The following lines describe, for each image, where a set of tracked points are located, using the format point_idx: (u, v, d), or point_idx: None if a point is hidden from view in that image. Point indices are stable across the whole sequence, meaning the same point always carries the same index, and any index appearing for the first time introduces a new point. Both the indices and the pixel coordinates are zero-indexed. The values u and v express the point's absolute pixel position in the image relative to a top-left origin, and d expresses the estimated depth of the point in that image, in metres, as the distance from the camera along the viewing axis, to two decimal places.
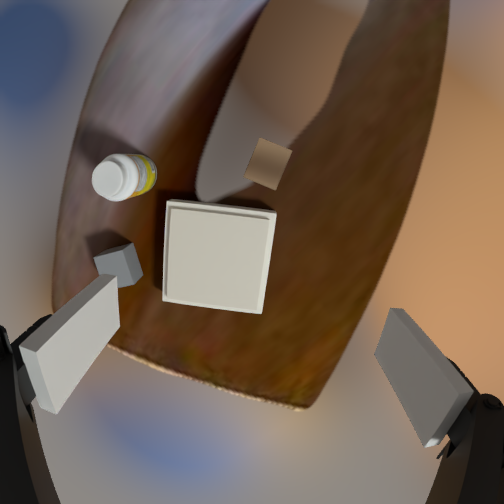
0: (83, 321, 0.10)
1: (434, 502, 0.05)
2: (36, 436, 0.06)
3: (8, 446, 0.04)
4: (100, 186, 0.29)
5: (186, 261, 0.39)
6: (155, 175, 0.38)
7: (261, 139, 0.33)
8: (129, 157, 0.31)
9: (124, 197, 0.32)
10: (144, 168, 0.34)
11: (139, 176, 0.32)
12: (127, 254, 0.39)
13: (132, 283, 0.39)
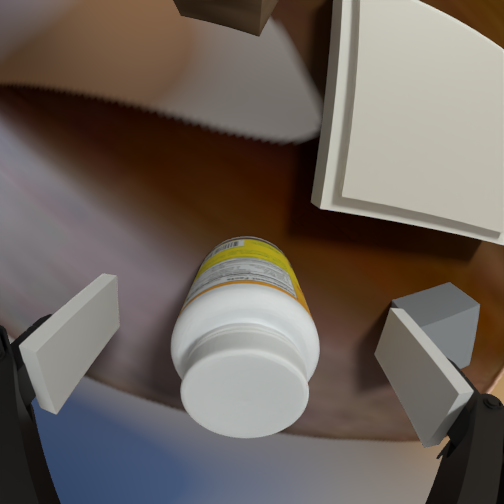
0: (83, 321, 0.10)
1: (434, 502, 0.05)
2: (36, 436, 0.06)
3: (8, 446, 0.04)
4: (268, 418, 0.09)
5: (456, 175, 0.13)
6: (251, 238, 0.16)
7: None
8: (183, 311, 0.10)
9: (312, 333, 0.10)
10: (227, 263, 0.13)
11: (247, 281, 0.10)
12: (423, 316, 0.16)
13: (477, 307, 0.15)
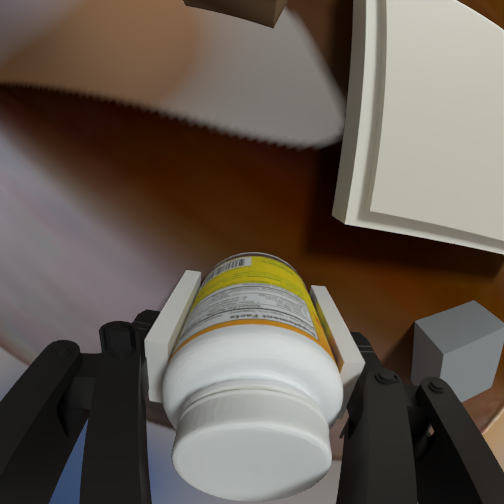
0: (186, 314, 0.12)
1: (345, 490, 0.06)
2: (145, 436, 0.07)
3: (120, 448, 0.05)
4: (280, 486, 0.06)
5: (490, 187, 0.11)
6: (259, 255, 0.14)
7: None
8: (175, 355, 0.08)
9: (337, 384, 0.08)
10: (231, 291, 0.10)
11: (257, 320, 0.08)
12: (449, 339, 0.14)
13: None
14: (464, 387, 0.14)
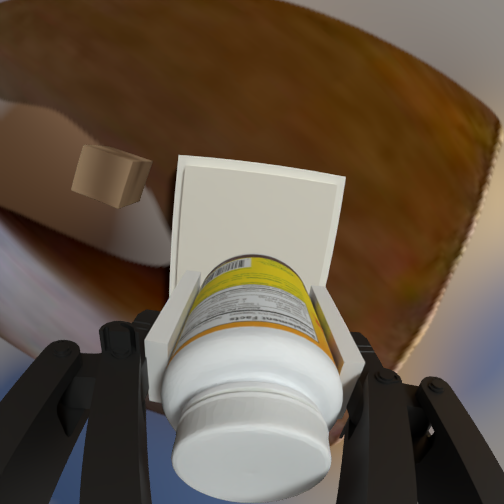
0: (186, 314, 0.12)
1: (345, 490, 0.06)
2: (145, 436, 0.07)
3: (120, 448, 0.05)
4: (280, 487, 0.06)
5: None
6: (259, 256, 0.14)
7: (73, 187, 0.22)
8: (175, 357, 0.08)
9: (336, 385, 0.08)
10: (230, 293, 0.10)
11: (256, 322, 0.08)
12: None
13: None
14: None
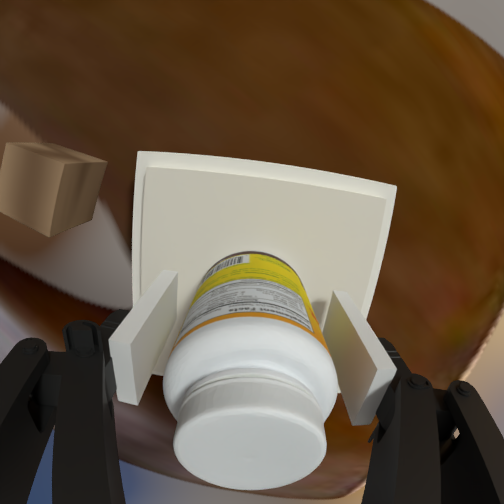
0: (158, 314, 0.11)
1: (372, 492, 0.06)
2: (113, 434, 0.07)
3: (87, 445, 0.05)
4: (277, 473, 0.07)
5: None
6: (257, 253, 0.14)
7: None
8: (176, 347, 0.08)
9: (331, 374, 0.08)
10: (230, 286, 0.11)
11: (254, 313, 0.08)
12: None
13: None
14: None
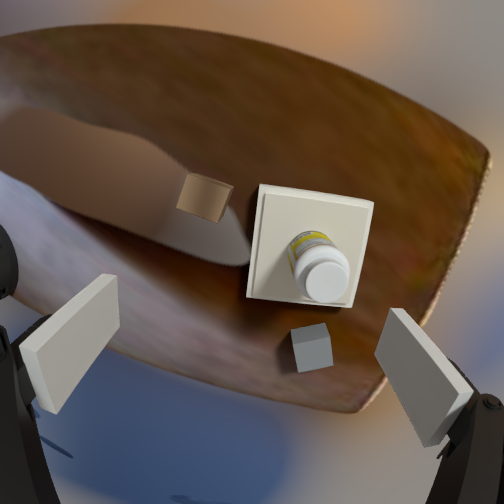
0: (83, 321, 0.10)
1: (434, 502, 0.05)
2: (36, 436, 0.06)
3: (8, 446, 0.04)
4: (335, 292, 0.26)
5: None
6: (315, 231, 0.34)
7: (177, 205, 0.33)
8: (300, 256, 0.28)
9: (347, 263, 0.28)
10: (311, 240, 0.30)
11: (324, 244, 0.28)
12: (299, 339, 0.39)
13: (328, 338, 0.38)
14: (312, 361, 0.39)
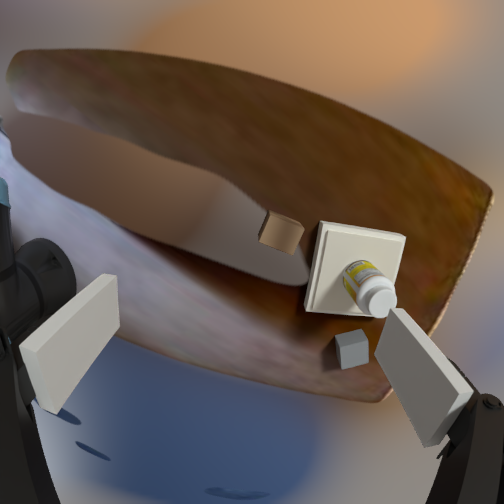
0: (83, 321, 0.10)
1: (434, 502, 0.05)
2: (36, 436, 0.06)
3: (8, 446, 0.04)
4: (387, 309, 0.35)
5: None
6: (364, 260, 0.43)
7: (260, 240, 0.41)
8: (362, 283, 0.37)
9: (394, 288, 0.36)
10: (367, 270, 0.39)
11: (378, 275, 0.37)
12: (344, 342, 0.48)
13: (367, 341, 0.47)
14: (353, 360, 0.48)
